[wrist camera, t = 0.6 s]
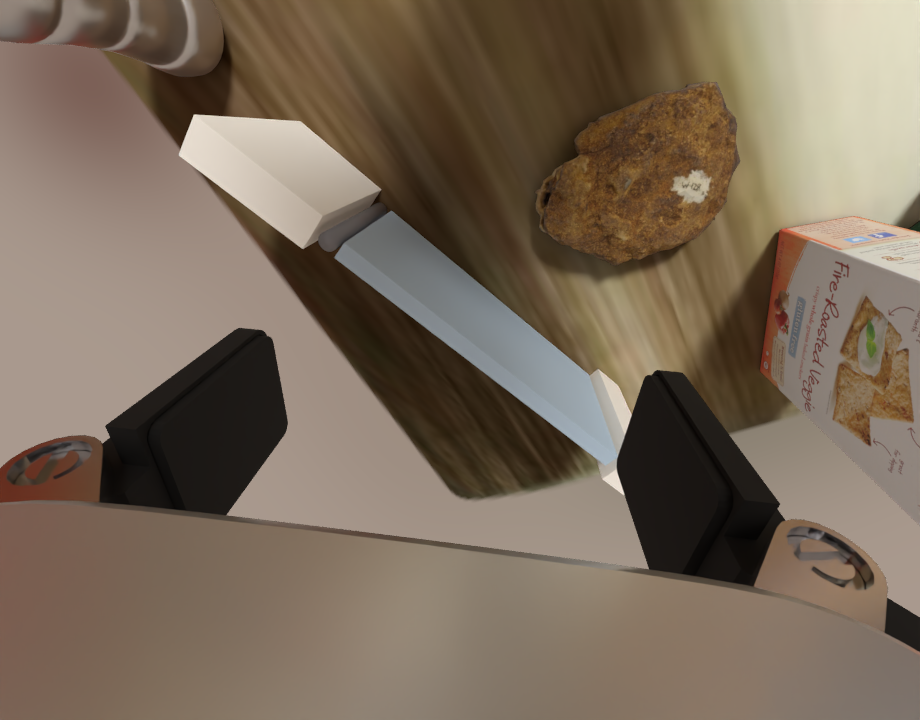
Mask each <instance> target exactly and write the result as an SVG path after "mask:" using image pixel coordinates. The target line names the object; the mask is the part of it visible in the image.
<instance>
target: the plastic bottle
mask: <svg viewBox="0 0 920 720" xmlns="http://www.w3.org/2000/svg"><path fill="white" fill-rule="evenodd" d="M0 41H4V42H13V43H23V44H57V45H58V44H59V45H75V46H81V47H87V48H95V49H100V50H106V51H112V52H115V53H118V54H121V55H124V56H127V57H130V58H133V59H137V60H140V61H142V62H144V63H146V64H148V65H150V66H152V67H154V68H156V69H158V70H161V71H164V72H166V73H169V74H171V75H175V76H179V77H194V76H201V75H205V74H207V73H209V72H211V71H212V70H213V69H214V68H215V67H216V66H217V64H218V63H219V61H220V59H221V56H222V53H223V46H224V35H223V28H222V23H221V19H220V17H219V14H218V11H217V9H216V7H215V5H214V3H213V1H212V0H0Z"/></svg>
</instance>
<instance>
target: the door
mask: <svg viewBox="0 0 920 720" xmlns="http://www.w3.org/2000/svg"><path fill="white" fill-rule="evenodd" d="M386 213H387V208H386V206H385V205H384V204H383V203H380V202H379V203H376V204H374V205H372V206H370V207H369V208H367V209H365V210H363V211H361V212H359V213H357V214H356V215H354V216H352V217H350V218H348V219H346V220H345V221H343V222H341V223H339V224H337V225H335V226H333V227H332V228H330V229H328V230H326V231H324V232H322V233H321V234H320V235H319V237H318V242H319V245H320V247H321V248H322V249H323V250H325V251H328V252H332V251H334V250H335V249H337V248H338V247H340V246H341V245H342V247H341V248H340V250H339V251H338V253H337V254H336V256H335V257H334V258H335V259H336V260H338V261H339V262H340V263H342V264H343V265H344V266H345V267H347V268H348V269H349V270H351V271H352V272H353V273H355V274H356V275H357V276H359V277H360V278H361V279H362V280H364V281H365V282H366V283H368V284H369V285H370V286H372V287H373V288H374V289H375V290H377V291H378V292H379V293H381V294H382V295H383V296H385V297H386V298H387V299H389V300H390V301H391V302H392V303H394V304H395V305H396V306H398V307H399V308H400V309H402V310H403V311H404V312H406V313H407V314H408V315H409V316H411V317H412V318H413V319H415V320H416V321H417V322H419V323H420V324H421V325H423V326H424V327H425V328H426V329H428V330H429V331H430V332H432V333H433V334H434V335H436V336H437V337H438V338H439V339H441V340H442V341H443V342H445V343H446V344H447V345H449V346H450V347H451V348H453V349H454V350H455V351H456V352H458V353H459V354H460V355H462V356H463V357H464V358H466V359H467V360H468V361H470V362H471V363H472V364H473V365H475V366H476V367H477V368H479V369H480V370H481V371H483V372H484V373H485V374H486V375H488V376H489V377H490V378H492V379H493V380H494V381H496V382H497V383H498V384H500V385H501V386H502V387H503V388H505V389H506V390H507V391H509V392H510V393H511V394H513V395H514V396H515V397H517V398H518V399H519V400H520V401H522V402H523V403H524V404H526V405H527V406H528V407H530V408H531V409H532V410H533V411H535V412H536V413H537V414H539V415H540V416H541V417H543V418H544V419H545V420H547V421H548V422H549V423H550V424H552V425H553V426H554V427H556V428H557V429H558V430H560V431H561V432H562V433H564V434H565V435H566V436H567V437H569V438H570V439H571V440H573V441H574V442H575V443H577V444H578V445H579V446H581V447H582V448H583V449H584V450H586V451H587V452H588V453H590V454H591V455H592V456H594V457H595V458H596V459H597V460H599V461H600V462H601V463H603V464H604V465H605V466H606V465H607V464H609V463H610V462H612V461H613V460H614V459H616V458H617V457H618V455H617V453H616V450H615V447H614V444H613V441H612V439H611V436H610V433H609V430H608V427H607V425H606V422H605V419H604V416H603V413H602V410H601V408H600V405H599V402H598V399H597V396H596V394H595V391H594V388H593V385H592V382H591V379H590V377H589V374H587V373H586V372H585V371H584V370H582V369H581V368H580V367H579V366H578V365H576V364H575V363H574V362H573V361H572V360H570V359H569V358H568V357H567V356H566V355H564V354H563V353H562V352H561V351H560V350H558V349H557V348H556V347H555V346H554V345H552V344H551V343H550V342H549V341H548V340H546V339H545V338H544V337H543V336H542V335H540V334H539V333H538V332H537V331H536V330H534V329H533V328H532V327H531V326H530V325H528V324H527V323H526V322H525V321H524V320H522V319H521V318H520V317H519V316H518V315H516V314H515V313H514V312H513V311H512V310H510V309H509V308H508V307H507V306H506V305H504V304H503V303H502V302H501V301H500V300H498V299H497V298H496V297H495V296H494V295H492V294H491V293H490V292H489V291H488V290H486V289H485V288H484V287H483V286H482V285H480V284H479V283H478V282H477V281H476V280H474V279H473V278H472V277H471V276H470V275H468V274H467V273H466V272H465V271H464V270H462V269H461V268H460V267H459V266H458V265H456V264H455V263H454V262H453V261H452V260H450V259H449V258H448V257H447V256H446V255H444V254H443V253H442V252H441V251H440V250H438V249H437V248H436V247H435V246H434V245H432V244H431V243H430V242H429V241H428V240H426V239H425V238H424V237H423V236H422V235H420V234H419V233H418V232H417V231H416V230H414V229H413V228H412V227H411V226H410V225H408V224H407V223H406V222H405V221H404V220H402V219H401V218H400V217H399V216H398V215H396V214H395V213H394V212H393V211H390V212H389V213H387V214H386Z"/></svg>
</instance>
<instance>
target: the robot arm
mask: <svg viewBox="0 0 920 720" xmlns="http://www.w3.org/2000/svg"><path fill="white" fill-rule="evenodd" d="M287 425H288V421H287V415H286V410H285V404H284V398H283V393H282V387H281V382H280V376H279V371H278V366H277V361H276V355H275V350H274V344H273V341H272V339H271V338H270V337H269V336H267V335H266V333H265V332H264V331H262V330H254V329H244V328H238V329H236V330H234V331H233V332H232V333H230V334H229V335H228V336H226V337H225V338H223V339H222V340H221V341H219V342H218V343H217V344H215V345H214V346H213V347H211V348H210V349H209V350H207V351H206V352H205V353H203V354H202V355H201V356H199V357H198V358H196V359H195V360H194V361H192V362H191V363H190V364H188V365H187V366H186V367H184V368H183V369H182V370H180V371H179V372H178V373H176V374H175V375H173V376H172V377H171V378H169V379H168V380H167V381H165V382H164V383H163V384H161V385H160V386H159V387H157V388H156V389H155V390H153V391H152V392H150V393H149V394H148V395H146V396H145V397H144V398H142V399H141V400H140V401H138V402H137V403H136V404H134V405H133V406H131V407H130V408H129V409H127V410H126V411H125V412H123V413H122V414H121V415H119V416H118V417H117V418H115V419H114V420H113V421H111V422H110V423H109V424H107V425H106V426H105V427H106V429H107V431H108V433H109V436H110V438H109V439H108V440H107V441H105V442H104V443H103V444H102V443H101V441H99V440H98V439H97V438H95V437H91V436H86V435H78V436H67V437H62V438H56V439H53V440H50V441H47V442H44V443H41V444H38V445H36V446H34V447H31V448H29V449H27V450H25V451H23V452H21V453H20V454H18V455H16V456H15V457H13V458H12V459H10V460H9V461H8V462H6V463H5V464H4V465H3V466H2V467H1V468H0V720H920V617H918V616H916V615H915V614H913V613H911V612H910V611H908V610H907V609H905V608H903V607H902V606H900V605H898V604H897V603H895V602H893V601H892V600H890V599H888V598H887V593H888V586H887V582H886V577H885V576H884V574H883V572H882V571H881V569H880V568H879V566H878V564H877V563H876V562H875V561H874V560H873V559H872V558H871V557H870V556H869V555H868V554H867V553H866V552H865V551H864V550H863V549H861V548H860V547H859V546H858V545H856V544H855V543H853V542H852V541H851V540H849V539H848V538H846V537H845V536H843V535H841V534H840V533H838V532H836V531H834V530H832V529H830V528H828V527H825V526H823V525H821V524H818V523H814V522H811V521H807V520H801V519H790V520H785V519H784V518H783V516H782V515H781V514H780V512H779V511H778V509H777V508H778V507H779V505H780V503H779V502H778V501H777V499H776V498H775V497H774V495H773V494H772V492H771V491H770V490H769V488H768V487H767V486H766V484H765V483H764V482H763V480H762V479H761V478H760V476H759V475H758V474H757V472H756V471H755V470H754V468H753V467H752V465H751V464H750V463H749V461H748V460H747V459H746V457H745V456H744V455H743V453H742V452H741V451H740V449H739V448H738V447H737V445H736V444H735V443H734V441H733V440H732V438H731V437H730V436H729V434H728V433H727V432H726V430H725V429H724V428H723V426H722V425H721V423H720V422H719V421H718V419H717V418H716V417H715V415H714V414H713V413H712V411H711V410H710V409H709V407H708V406H707V405H706V403H705V402H704V400H703V399H702V398H701V396H700V395H699V394H698V392H697V391H696V390H695V388H694V387H693V386H692V384H691V383H690V382H689V380H688V379H687V377H686V376H685V375H684V374H683V373H680V372H670V371H660V370H657V371H655V372H654V373H653V374H652V376H651V375H647V376H646V377H645V379H644V381H643V384H642V387H641V390H640V393H639V396H638V398H637V401H636V404H635V407H634V410H633V413H632V416H631V419H630V422H629V425H628V428H627V431H626V434H625V437H624V440H623V443H622V446H621V449H620V452H619V454H618V458H617V473H618V476H619V479H620V482H621V485H622V488H623V491H624V495H625V498H626V501H627V504H628V507H629V510H630V513H631V515H632V519H633V522H634V525H635V528H636V531H637V534H638V537H639V540H640V542H641V546H642V549H643V552H644V555H645V558H646V561H647V564H648V567H649V569H642V568H635V567H628V566H622V565H615V564H608V563H600V562H592V561H585V560H577V559H570V558H569V559H568V558H561V557H554V556H547V555H538V554H531V553H524V552H516V551H509V550H501V549H493V548H486V547H478V546H470V545H462V544H454V543H446V542H438V541H430V540H423V539H415V538H407V537H399V536H390V535H383V534H375V533H366V532H359V531H351V530H343V529H334V528H327V527H318V526H309V525H301V524H293V523H285V522H277V521H268V520H260V519H252V518H242V517H235V516H226V515H227V513H228V512H229V510H230V509H231V508H232V506H233V505H234V503H235V502H236V501H237V499H238V498H239V497H240V495H241V494H242V492H243V491H244V490H245V488H246V487H247V486H248V484H249V483H250V481H251V480H252V479H253V477H254V476H255V475H256V473H257V472H258V470H259V469H260V468H261V466H262V465H263V464H264V462H265V461H266V459H267V458H268V457H269V455H270V454H271V453H272V451H273V450H274V448H275V447H276V446H277V444H278V443H279V441H280V440H281V439H282V437H283V436H284V434H285V432H286V429H287Z"/></svg>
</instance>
